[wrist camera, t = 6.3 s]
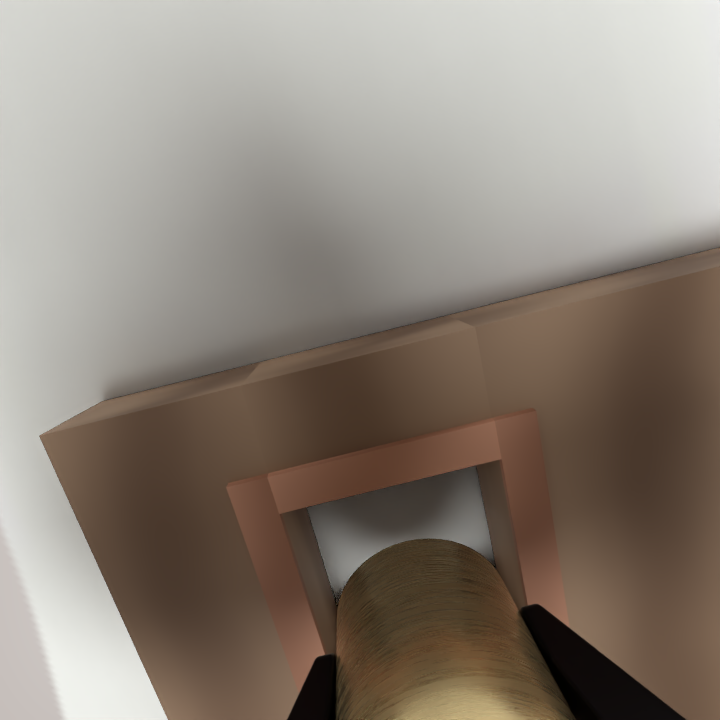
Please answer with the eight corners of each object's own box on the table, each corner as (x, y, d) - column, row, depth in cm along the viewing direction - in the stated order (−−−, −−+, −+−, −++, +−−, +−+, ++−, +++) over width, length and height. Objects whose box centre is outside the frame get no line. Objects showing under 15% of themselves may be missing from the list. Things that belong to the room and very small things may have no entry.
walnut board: (744, 241, 12) (863, 232, 9) (760, 807, 17) (839, 908, 14) (102, 401, 12) (32, 439, 9) (311, 915, 17) (306, 1035, 14)
